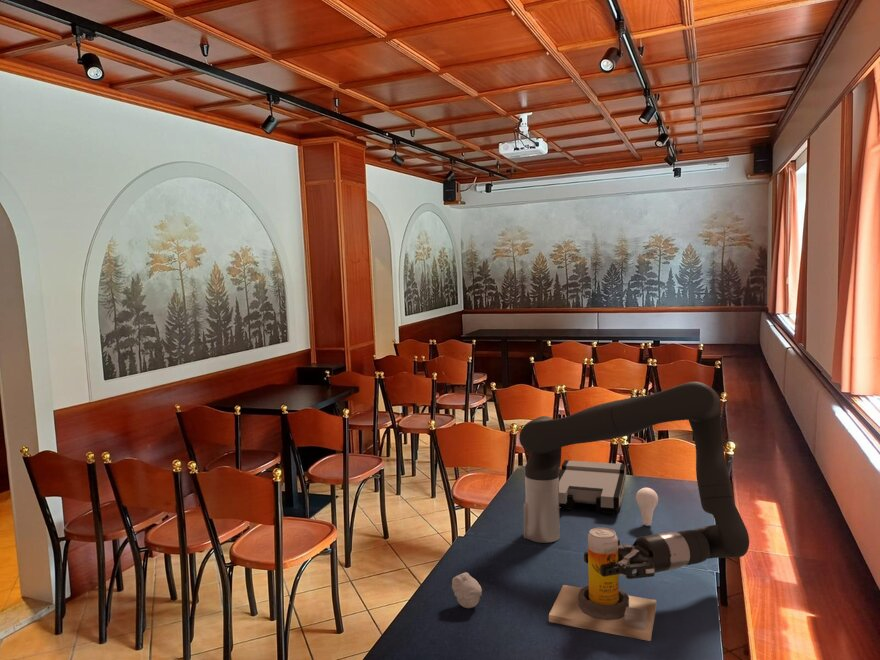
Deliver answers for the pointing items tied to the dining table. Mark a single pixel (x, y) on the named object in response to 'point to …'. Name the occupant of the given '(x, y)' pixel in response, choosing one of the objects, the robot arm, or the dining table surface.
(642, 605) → the board
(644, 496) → the lightbulb
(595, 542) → the beer can
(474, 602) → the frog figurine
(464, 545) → the dining table surface
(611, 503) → the game console
